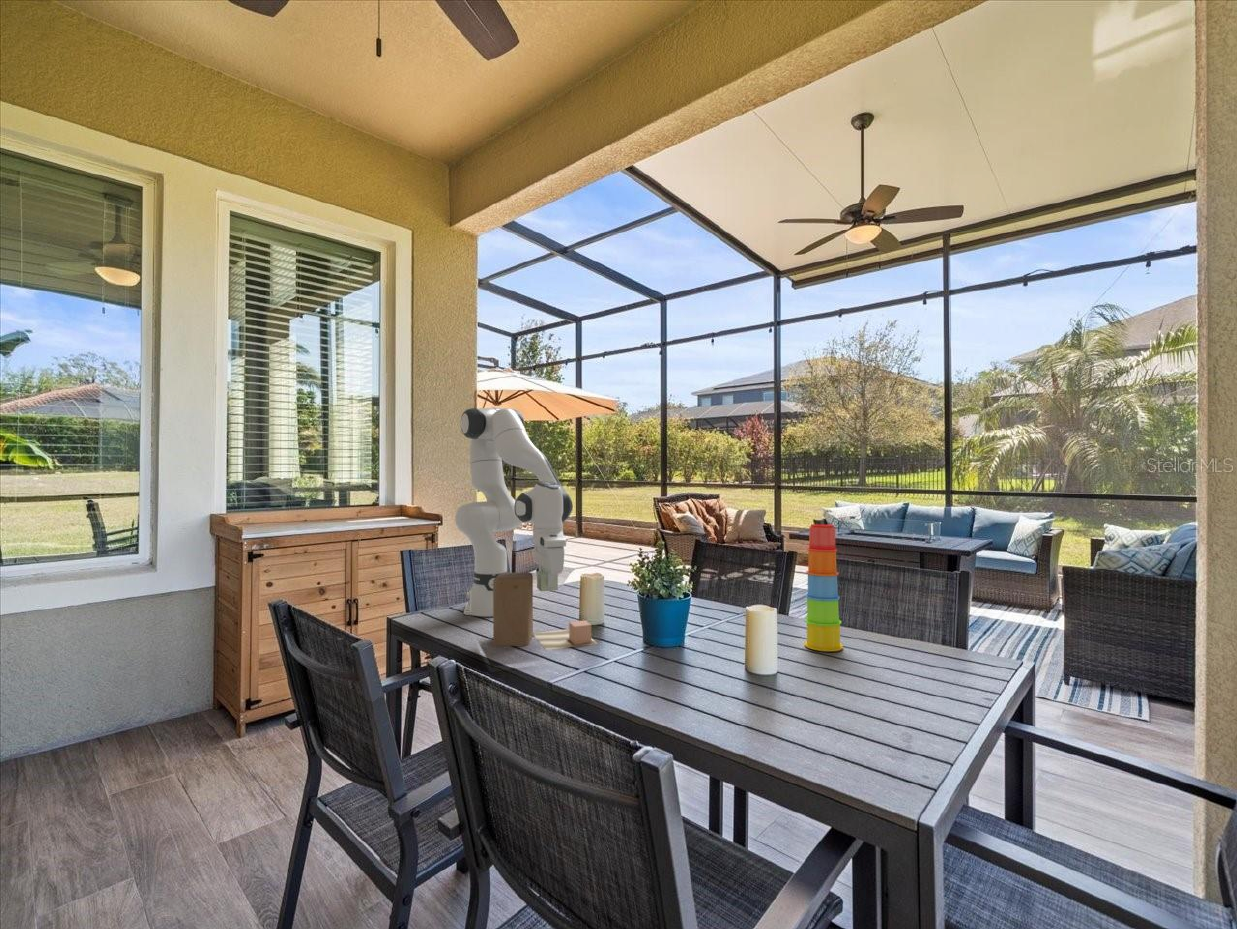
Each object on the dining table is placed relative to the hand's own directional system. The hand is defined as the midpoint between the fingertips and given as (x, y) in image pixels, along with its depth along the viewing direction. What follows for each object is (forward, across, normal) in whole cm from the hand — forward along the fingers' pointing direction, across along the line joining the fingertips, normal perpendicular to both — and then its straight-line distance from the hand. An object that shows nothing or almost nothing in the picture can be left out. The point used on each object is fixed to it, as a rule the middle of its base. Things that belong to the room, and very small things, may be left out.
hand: (547, 583), depth 173 cm
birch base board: (+16, +5, +4) cm, 18 cm away
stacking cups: (+15, +38, +70) cm, 81 cm away
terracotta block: (+15, +10, +7) cm, 19 cm away
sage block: (+2, 0, 0) cm, 2 cm away
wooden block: (+17, +2, -10) cm, 20 cm away
